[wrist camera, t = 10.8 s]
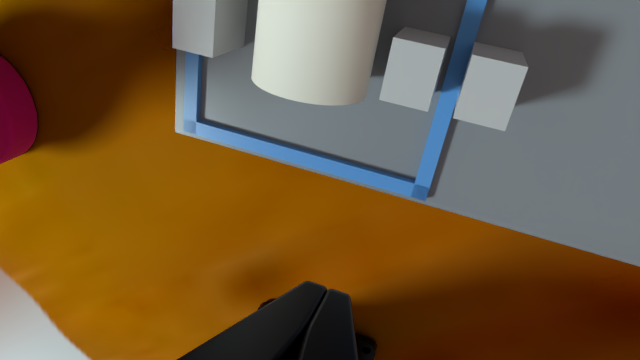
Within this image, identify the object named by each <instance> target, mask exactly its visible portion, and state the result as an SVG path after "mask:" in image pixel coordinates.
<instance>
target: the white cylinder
mask: <svg viewBox="0 0 640 360" xmlns="http://www.w3.org/2000/svg"><path fill="white" fill-rule="evenodd" d="M386 1H387V0H259V1H258V12H257V22H256V33H255V44H254V55H253V65H252V76H251V79H252V81H253V83H254V84H255V85H257V86H258V87H259V88H261V89H262V90H264V91H266V92H269V93H271V94H273V95H276V96H279V97H282V98H285V99H289V100H293V101H298V102H303V103H309V104H316V105H330V106H338V105H350V104H355V103H358V102H361V101H363V100H364V99H365V98H366V95H367V90H368V86H369V81H370V76H371V72H372V67H373V62H374V58H375V53H376V48H377V44H378V39H379V34H380V29H381V25H382V20H383V15H384V11H385V6H386Z"/></svg>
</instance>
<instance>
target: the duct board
mask: <svg viewBox="0 0 640 360" xmlns="http://www.w3.org/2000/svg"><path fill="white" fill-rule="evenodd" d="M258 1H259V0H173V28H172V48H175V49H177V52H176V108H175V132H177V133H181V134H184V135H188V136H191V137H194V138H198V139H201V140H205V141H208V142H212V143H215V144H219V145H222V146H225V147H229V148H232V149H236V150H239V151H243V152H246V153H250V154H253V155H256V156H260V157H263V158H267V159H270V160H274V161H277V162H281V163H284V164H288V165H291V166H294V167H298V168H301V169H305V170H308V171H312V172H315V173H319V174H322V175H325V176H329V177H332V178H336V179H339V180H343V181H346V182H350V183H353V184H357V185H360V186H363V187H367V188H370V189H374V190H377V191H381V192H384V193H388V194H391V195H394V196H398V197H401V198H405V199H408V200H412V201H415V202H419V203H422V204H425V205H429V206H432V207H436V208H439V209H443V210H446V211H450V212H453V213H457V214H460V215H463V216H467V217H470V218H474V219H477V220H481V221H484V222H488V223H491V224H494V225H498V226H501V227H505V228H508V229H512V230H515V231H519V232H522V233H526V234H529V235H532V236H536V237H539V238H543V239H546V240H550V241H553V242H557V243H560V244H563V245H567V246H570V247H574V248H577V249H581V250H584V251H588V252H591V253H594V254H598V255H601V256H605V257H608V258H612V259H615V260H619V261H622V262H626V263H629V264H632V265H636V266H639V267H640V0H387V1H386V6H385V11H384V15H383V20H382V25H381V29H380V34H379V39H378V44H377V48H376V53H375V58H374V62H373V67H372V72H371V76H370V81H369V86H368V90H367V95H366V98H365V99H364V100H363V101H361V102H358V103H355V104H350V105H338V106H330V105H316V104H309V103H303V102H298V101H293V100H289V99H285V98H282V97H279V96H276V95H273V94H271V93H269V92H266V91H264V90H262V89H261V88H259V87H258V86H257V85H255V84H254V83H253V81H252V79H251V76H252V65H253V55H254V44H255V33H256V22H257V12H258Z"/></svg>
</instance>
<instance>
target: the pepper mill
mask: <svg viewBox="0 0 640 360" xmlns="http://www.w3.org/2000/svg"><path fill="white" fill-rule="evenodd" d="M37 129H38V120H37V111H36V108H35V104H34V101H33V98H32V96H31V94H30V92H29V90H28V88H27V86H26V84H25V82H24V80H23V79H22V78H21V76H20V75H19V74H18V73H17V71H16V70H15V69H14V67H13V66H12V65H11V64H10V63H9V62H7V61H6V60H5V59H4V58H3V57H2V56H0V164H1V163H3V162H6V161H8V160H10V159H13V158H15V157H17V156H20V155H22V154H24V153H25V152H27V151H28V149H29V148H30V147H31V146H32V144H33V143H34V141H35V139H36V134H37Z"/></svg>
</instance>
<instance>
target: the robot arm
mask: <svg viewBox="0 0 640 360" xmlns="http://www.w3.org/2000/svg"><path fill="white" fill-rule="evenodd" d="M364 346H367V347H368V348H365V347H364ZM376 349H377V344H376V342H375V341H374V340H373V339H371V338H369V337H366V336H364V335H361V334H358V333H355V329H354V322H353V314H352V306H351V298H350V296H349V295H348V294H346V293H343V292H340V291H337V290H334V289H329V290H327V288H326V287H325V286H323V285H320V284H317V283H314V282H311V281H305V282H303V283H302V284H300V285H298V286H297V287H295V288H293V289H292V290H290V291H288V292H287V293H285V294H284V295H282V296H280V297H279V298H277V299H275V300H274V301H272V302H263V303H262V304H261V305H260V307H259V308H258V310H257V311H256V312H254V313H252V314H251V315H249V316H248V317H246V318H244V319H243V320H241V321H239V322H238V323H236V324H234V325H233V326H231V327H229V328H228V329H226V330H225V331H223V332H221V333H220V334H218V335H216V336H215V337H213V338H211V339H210V340H208V341H207V342H205V343H203V344H202V345H200V346H198V347H197V348H195V349H193V350H192V351H190V352H188V353H187V354H185V355H184V356H182V357H180V358H179V359H177V360H373V359H374V356H375V353H376Z"/></svg>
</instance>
